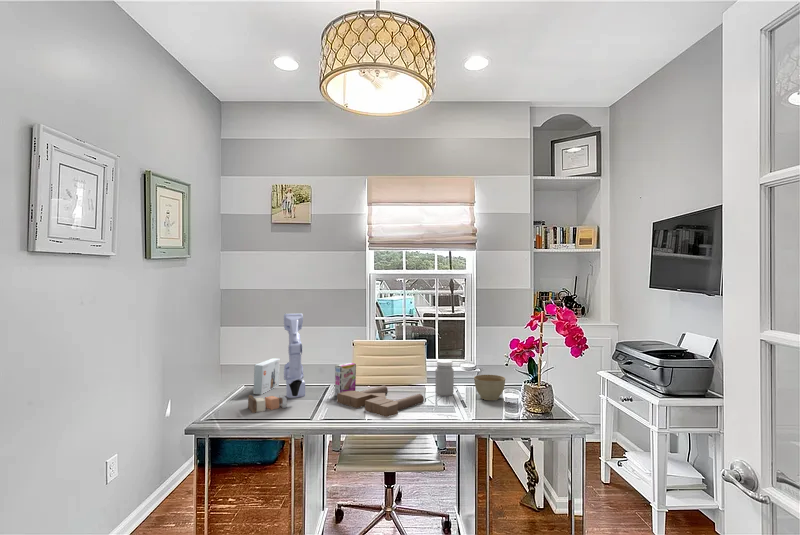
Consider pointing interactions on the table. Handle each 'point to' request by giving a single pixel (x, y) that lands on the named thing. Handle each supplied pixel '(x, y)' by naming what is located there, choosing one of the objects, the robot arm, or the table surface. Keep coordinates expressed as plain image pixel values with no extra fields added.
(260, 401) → the cream book
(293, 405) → the table surface
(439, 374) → the jar
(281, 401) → the grey rectangular block
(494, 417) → the table surface
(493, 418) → the table surface
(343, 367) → the candy bar box
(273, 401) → the salmon orange block
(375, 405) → the bookends
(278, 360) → the skincare box
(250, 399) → the wooden shelf
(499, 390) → the planter bowl
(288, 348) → the robot arm
